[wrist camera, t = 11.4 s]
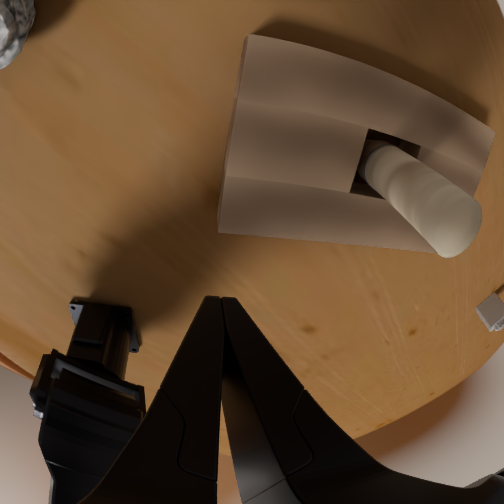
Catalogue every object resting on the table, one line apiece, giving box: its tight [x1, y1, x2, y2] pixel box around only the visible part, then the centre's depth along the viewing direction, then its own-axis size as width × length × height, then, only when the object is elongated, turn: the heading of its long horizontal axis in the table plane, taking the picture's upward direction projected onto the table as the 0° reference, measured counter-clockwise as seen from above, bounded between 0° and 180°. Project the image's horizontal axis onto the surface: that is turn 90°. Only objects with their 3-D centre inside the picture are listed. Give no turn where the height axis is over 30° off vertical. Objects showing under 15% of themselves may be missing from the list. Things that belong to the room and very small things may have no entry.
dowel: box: [357, 139, 482, 258], centre depth 15 cm, size 3×3×10 cm
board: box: [217, 34, 496, 253], centre depth 18 cm, size 12×20×2 cm, turn 80°
